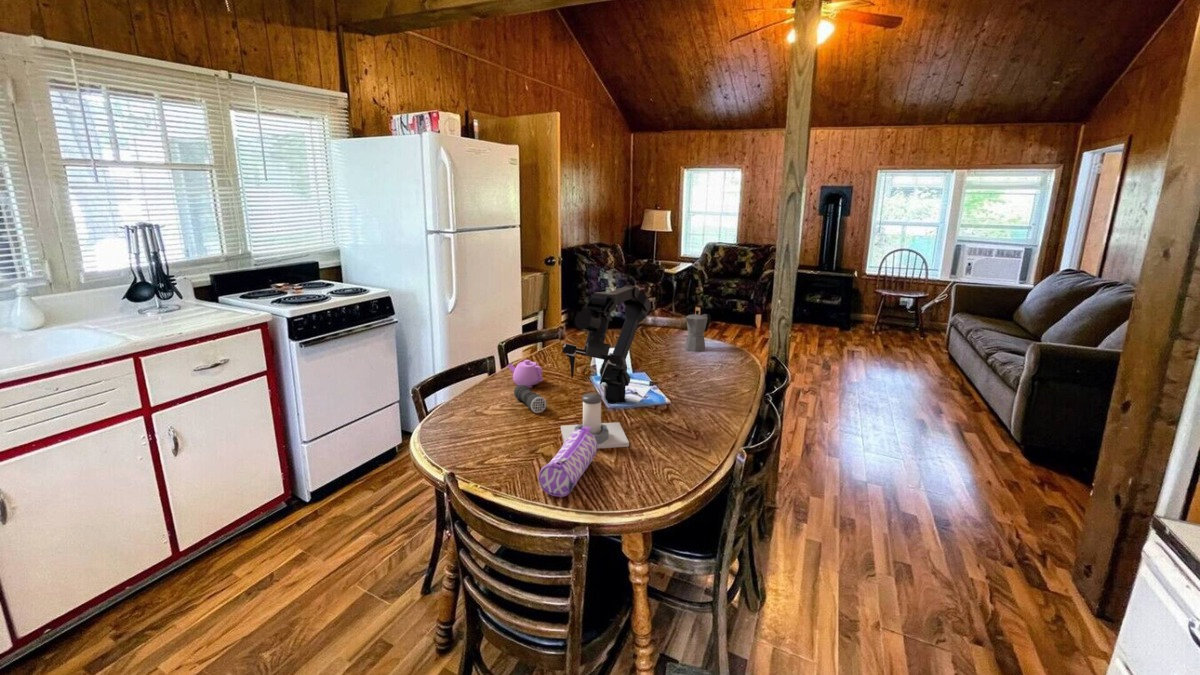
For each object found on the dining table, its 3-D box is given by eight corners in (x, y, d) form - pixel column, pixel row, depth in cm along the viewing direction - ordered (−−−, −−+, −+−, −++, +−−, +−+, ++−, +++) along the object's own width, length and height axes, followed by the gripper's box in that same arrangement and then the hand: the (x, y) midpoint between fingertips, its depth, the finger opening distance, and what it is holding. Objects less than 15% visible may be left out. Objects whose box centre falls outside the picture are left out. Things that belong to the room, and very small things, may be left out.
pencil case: (572, 503, 127) (572, 467, 125) (535, 497, 130) (534, 461, 127) (599, 460, 148) (599, 427, 145) (566, 455, 150) (566, 423, 148)
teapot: (535, 391, 195) (535, 366, 193) (500, 385, 201) (499, 361, 199) (550, 382, 205) (549, 358, 202) (516, 376, 210) (515, 353, 208)
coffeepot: (691, 353, 242) (694, 314, 237) (677, 348, 249) (679, 310, 245) (716, 348, 251) (718, 310, 246) (701, 343, 258) (703, 306, 253)
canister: (594, 431, 162) (594, 391, 158) (604, 438, 157) (605, 397, 154) (578, 435, 159) (578, 395, 155) (588, 442, 154) (588, 401, 151)
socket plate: (619, 425, 168) (619, 414, 167) (628, 446, 155) (629, 434, 154) (560, 429, 165) (560, 418, 164) (565, 450, 152) (565, 438, 151)
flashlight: (512, 399, 189) (512, 384, 187) (527, 396, 191) (526, 381, 190) (531, 414, 176) (531, 399, 175) (546, 411, 179) (546, 395, 178)
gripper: (568, 326, 163) (556, 377, 163) (628, 340, 164) (617, 391, 164) (568, 325, 174) (557, 373, 174) (625, 338, 175) (614, 386, 176)
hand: (586, 381), depth 172 cm, fingers open, 9 cm apart
